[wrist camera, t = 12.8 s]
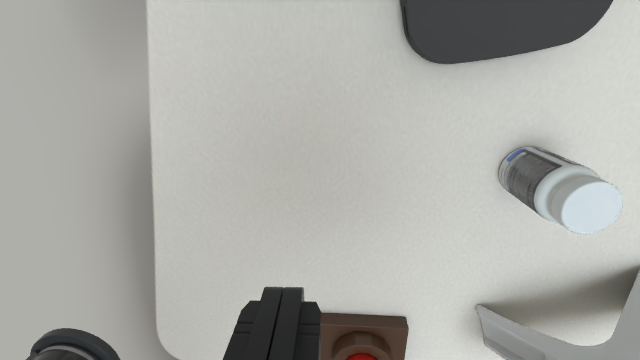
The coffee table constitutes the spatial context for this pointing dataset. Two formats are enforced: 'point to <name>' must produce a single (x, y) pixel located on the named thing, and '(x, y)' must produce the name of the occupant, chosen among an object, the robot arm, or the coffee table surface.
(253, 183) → the coffee table surface
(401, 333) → the button box
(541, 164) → the pill bottle
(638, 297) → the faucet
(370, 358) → the button
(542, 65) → the coffee table surface
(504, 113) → the coffee table surface
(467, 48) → the media streaming box
